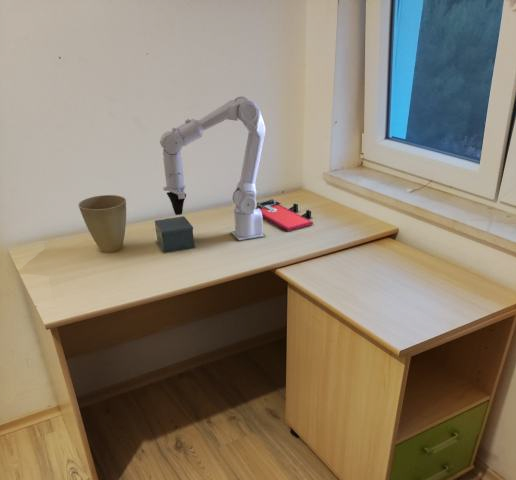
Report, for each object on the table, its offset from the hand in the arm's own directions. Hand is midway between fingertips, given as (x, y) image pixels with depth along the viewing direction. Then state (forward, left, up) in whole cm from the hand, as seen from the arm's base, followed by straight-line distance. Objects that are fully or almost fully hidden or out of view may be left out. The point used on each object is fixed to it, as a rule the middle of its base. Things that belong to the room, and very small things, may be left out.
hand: (178, 214), depth 168 cm
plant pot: (+23, -6, -11) cm, 26 cm away
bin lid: (+2, +1, -4) cm, 4 cm away
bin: (+2, 0, -10) cm, 11 cm away
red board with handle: (-43, -11, -10) cm, 45 cm away
